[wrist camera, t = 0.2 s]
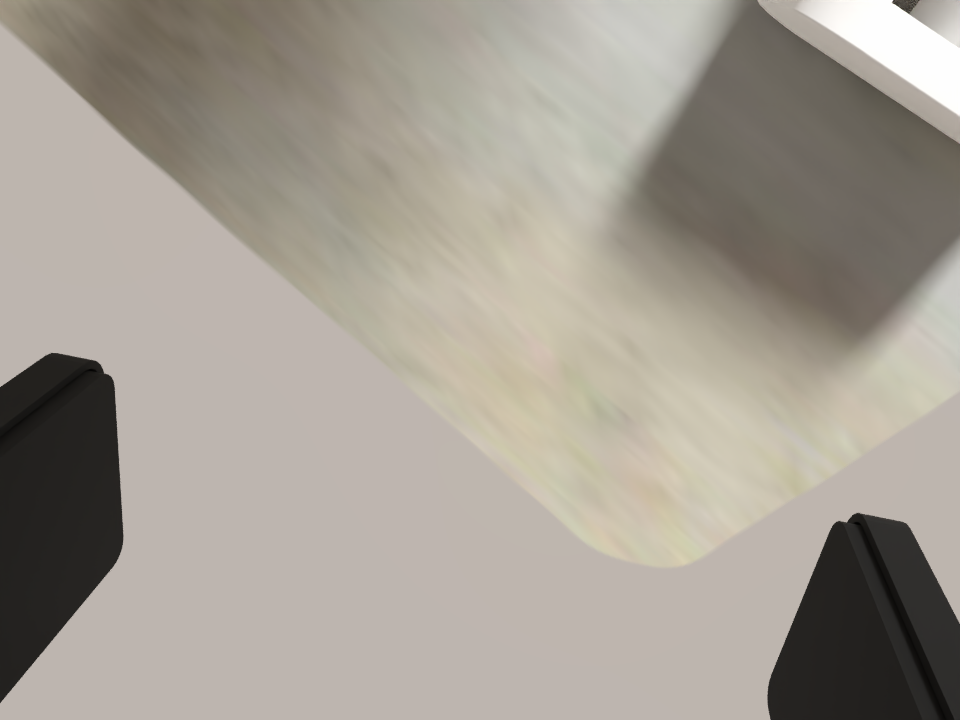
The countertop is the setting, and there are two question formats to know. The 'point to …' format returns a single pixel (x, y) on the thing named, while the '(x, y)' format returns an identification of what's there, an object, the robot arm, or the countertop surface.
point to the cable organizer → (888, 48)
